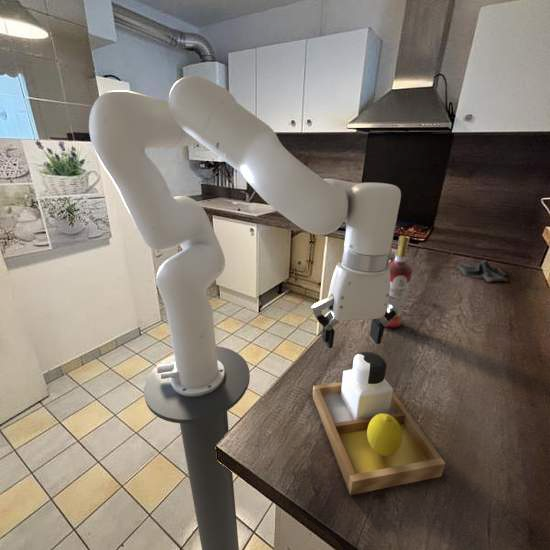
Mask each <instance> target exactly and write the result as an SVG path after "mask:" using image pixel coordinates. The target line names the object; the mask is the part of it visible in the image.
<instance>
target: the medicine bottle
mask: <svg viewBox="0 0 550 550" xmlns="http://www.w3.org/2000/svg"><path fill="white" fill-rule="evenodd" d="M352 361H353V362H352V368H349V369H345V370H343V371H342V379H341V382H342V387H341V398H342V399H343V401H344V403H345V405H346V406H347V408H348V410H349V412H350V413H351V415H352V417H353V419H354V420H357V419H363V418H369V417H374V416H376V415H378V414H388V413H389V408H390V403H391V398H392V393H393V392H394V388H393V387H392V386H391V384H390V383H389V382H388V380H386V379H385V377H386V371H387V362H386V360H385V359H384V358H383V357H382V356H381V355H379V354H377V353H374V352H371V351H362V352H359V353H357V354H355V356H354V357H353V360H352Z"/></svg>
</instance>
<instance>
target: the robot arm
mask: <svg viewBox="0 0 550 550" xmlns="http://www.w3.org/2000/svg"><path fill="white" fill-rule="evenodd" d="M88 132H89V133H88V134H89V137H90V142H91V146H92V148H93V150H94V152H95V155H96V157H97V158H98V160H99V162H100V164H101V165H102V167H103V168H104V170H105V171H106V173H107V174H108V176H109V178H110V180H112V182H113V184H114V186H115V187H116V189H117V191H118V192H119V195H120V197H121V199H122V201H123V203H124V206H125V208H126V209H127V211H128V213H129V215H130V218H131V219H132V221H133V223H134V225H135V228H136V229H137V231H138V233H139V236H140V237H141V239H142V240H143V242H144V243H145V245H146V246H147V247H148V248H149V249H151V250H153V251H155V252H166V251H170V250H172V249H174V248H176V247H179V246H180V248H181V251H179V252H177V253H175V254H173V255H172V256H170V257H169V258H167V259H166V260H165V261H164V262H162V264H161V265H160V266H159V268H158V270H157V272H156V275H155V278H156V279H155V281H156V286H157V289H158V293H159V294H160V297H161V300H162V303H163V305H164V308H165V312H166V317H167V323H168V328H169V334H170V340H171V346H172V351H173V354H174V359H175V362H172V363H171V364H162V365H158V364H157V365H158V366H157V365H156V366H157V372H158V373H161V379H165V378H171V384H172V387H173V389H174V390H175V391H176V392H177V393H179V394H181V395H184V396H193V397H194V396H201V395H204V394H207V393H209V392H211V391H213V390H215V389H216V388H217V387H218V386H219V385H220V384H221V383H222V381H223V380H224V377H225V369H224V366H223V364H222V363H221V362H220V361H218V360H217V352H216V346H217V344H216V333H215V331H216V330H215V322H214V313H213V308H212V305H211V303H210V301H209V299H208V297H207V289H208V288H209V287H210V286H211V285H212V284H213V283H214V282H215V281H217V279H218V278H220V276H221V275H222V274H223V273H224V270H225V267H226V260H225V259H226V258H225V255H224V251H223V249H222V246H221V243H220V241H219V240H218V237H217V234H216V232H215V230H214V228H213V225H212V223H211V220H210V218H209V216H208V214H207V212H206V211H205V209H204V207H203V206H202V205H201V204H200V203H199V202H198V201H197V200H195V199H193V198H191V197H189V196H185V195H177V196H173V194H172V192H171V190H170V189H169V186H168V183H167V181H166V179H165V177H164V175H163V173H162V171H161V170H160V169H159V167H158V166H157V165H156V164H155V163H154V161H153V160H152V159H151V158H150V157H149V156H148V155H147V154H146V151H145V150H146V149H159V150H160V149H161V150H162V149H165V150H167V149H179V148H183V147H189V146H192V145H199V144H201V145H202V146H203V147H205V148H207V150H209V151H210V152H212V153H213V154H215V155H216V156H217V157H219V158H220V159H221V160H223V161H224V162H225V163H226V164H228V165H229V166H230V167H231V168H233V169H234V170H235V171H237V172H238V173H240V174H241V175H242V176H243V178H244V180H245V181H246V182H247V183H248V184H249V186H251V188H252V189H253V190H254V191H255V192H256V193H257V194H258V195H259V197H260V198H261V199H262V200H264V202H266V203H267V204H268V205H269V206H270V207H271V208H273V209H274V210H275V211H277V212H278V213H279V214H280V215H282V216H283V217H285V218H286V220H289V221H290V222H291V223H292V224H293V225H296V226H297V227H298V228H300V229H301V230H303V231H305V232H307V233H309V234H312V235H318V236H324V235H329V234H332V233H334V232H335V231H337V230H338V229H339V228H340V227H341V226H342V225H343V223H345V225H346V227H345V235H344V244H343V251H342V258H341V262H337V263H336V265H335V268H334V271H333V274H332V277H331V280H330V284H329V290H328V293H327V297H325V298H323V299H321V300H319V301H317V302H315V303H313V304H312V305H311V306H310V308H311V310H312V313H313V314H314V317H315V319H316V320H317V322H318V323H319V324H320V325H321V326H322V333H321V338H322V342H323V343H325V344H326V347H327V348H328V349H332V348H333V346H334V339H335V332H336V331H335V329H334V327H336V326H337V324H339V322H351V321H363V320H371V325H370V330H369V337H370V338H371V339H372V340H373V341H374V343H375V344H377V345H380V344H381V343H382V338H383V337H384V332H385V328H386V327H385V326H387V325H388V324H389V322H388V321H390V320H391V319H392V318H393V317H394V316H395V315H396V312H397V311H398V310H399V309H400V307H401V306H402V303H401V302H400V301H399V300H398V299H396V298H394V297H392V296H390V295H389V293H390V268H389V267H388V264H389V263H390V260H391V261H392V260H395V256H396V252H395V251H392V245H393V240H394V236H395V230H396V225H397V220H398V216H399V215H398V214H399V209H400V204H401V199H402V191H401V189H400V188H399V187H398V186H397V185H395V184H391V183H386V182H385V183H384V182H360V183H359V182H351V181H346V180H343V179H337V178H331V177H330V178H326V177H325V178H323V177H322V176H320V175H319V174H317V173H316V172H314V171H313V170H312V169H310V168H309V167H308V166H306V165H305V164H304V163H303V162H301V161H300V160H299V159H298V158H296V157H295V156H294V155H293V154H292V153H291V152H290V151H288V149H287V148H286V147H285V146H284V145H283V144H282V143H281V141H280V139H279V138H278V136H277V135H278V134H277V133H276V132H275V131H274V129H272V127H271V126H270V125H268V124H267V123H266V122H264V121H263V120H262V119H261V118H259V117H258V116H256V115H255V114H253V113H252V112H251V111H249V110H248V109H246V107H244V106H242V105H241V104H240V103H238V102H237V100H236V98H235V97H234V95H233V94H232V93H231V92H230V91H229V90H228V89H226V88H225V87H223V86H221V85H219V84H216V83H215V82H213V81H211V80H209V79H206V78H204V77H201V76H197V75H187V76H183V77H181V78H180V79H178V80H177V81H176V82H175V83H174V84H173V86H172V87H171V89H170V92H169V95H168V100H164V99H160V98H157V97H154V96H149V95H147V94H143V93H139V92H135V91H129V90H110V91H107V92H104V93H102V94H101V95H100V96H98V98H96V100H95V101H94V103H93V105H92V106H91V109H90V112H89V117H88ZM388 303H389V304H390V306H389V308H387V306H388ZM327 309H328V312H327V313H326V314H325V315H324V314H323V313H322V311H324V310H327ZM169 371H171V372H169Z"/></svg>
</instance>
